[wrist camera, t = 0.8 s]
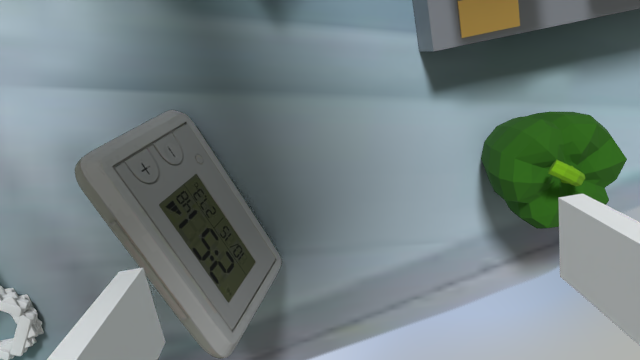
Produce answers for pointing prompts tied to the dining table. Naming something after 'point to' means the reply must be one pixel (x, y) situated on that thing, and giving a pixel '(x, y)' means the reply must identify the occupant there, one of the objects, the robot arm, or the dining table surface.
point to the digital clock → (183, 226)
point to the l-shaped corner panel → (19, 323)
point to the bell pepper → (550, 163)
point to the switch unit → (500, 18)
